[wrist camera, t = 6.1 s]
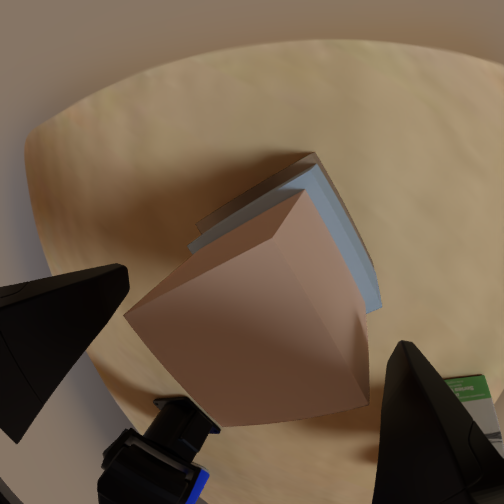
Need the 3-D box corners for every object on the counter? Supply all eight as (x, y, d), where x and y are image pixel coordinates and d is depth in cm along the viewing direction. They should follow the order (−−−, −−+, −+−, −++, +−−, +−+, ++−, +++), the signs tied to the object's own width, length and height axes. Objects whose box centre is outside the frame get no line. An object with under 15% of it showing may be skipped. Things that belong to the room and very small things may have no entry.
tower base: (274, 299, 19) (262, 326, 16) (217, 209, 17) (195, 223, 15) (371, 258, 15) (376, 282, 13) (315, 151, 14) (310, 153, 12)
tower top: (275, 315, 15) (261, 350, 13) (215, 224, 14) (186, 245, 12) (375, 273, 13) (382, 307, 10) (316, 163, 12) (310, 170, 9)
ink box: (440, 377, 16) (456, 510, 6) (486, 373, 15) (514, 490, 5) (408, 432, 20) (403, 535, 9) (449, 428, 18) (454, 525, 8)
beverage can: (180, 457, 37) (142, 519, 24) (207, 466, 35) (170, 533, 22) (188, 468, 39) (154, 526, 25) (213, 476, 37) (181, 538, 24)
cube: (261, 339, 12) (222, 426, 8) (199, 249, 12) (123, 315, 7) (365, 302, 10) (369, 404, 6) (305, 189, 9) (272, 237, 5)
